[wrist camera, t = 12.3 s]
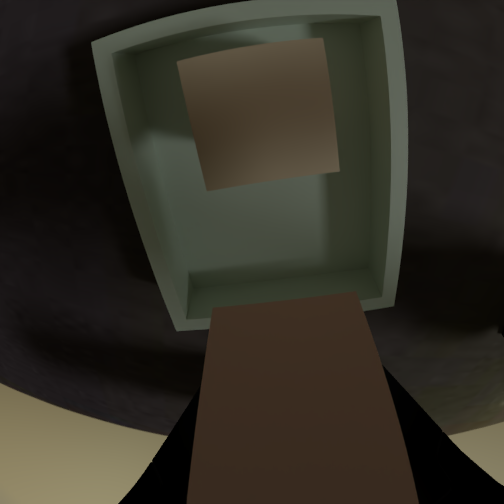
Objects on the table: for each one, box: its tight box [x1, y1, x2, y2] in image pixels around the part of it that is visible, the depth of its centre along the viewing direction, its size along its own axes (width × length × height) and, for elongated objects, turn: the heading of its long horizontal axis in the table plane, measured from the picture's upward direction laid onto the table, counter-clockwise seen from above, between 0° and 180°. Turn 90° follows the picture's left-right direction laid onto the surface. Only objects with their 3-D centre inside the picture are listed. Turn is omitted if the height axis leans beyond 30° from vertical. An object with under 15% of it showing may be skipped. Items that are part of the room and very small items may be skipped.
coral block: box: [187, 291, 419, 504], centre depth 7 cm, size 4×4×6 cm
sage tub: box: [91, 0, 408, 331], centre depth 14 cm, size 15×12×4 cm
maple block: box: [177, 38, 340, 191], centre depth 11 cm, size 4×4×6 cm
